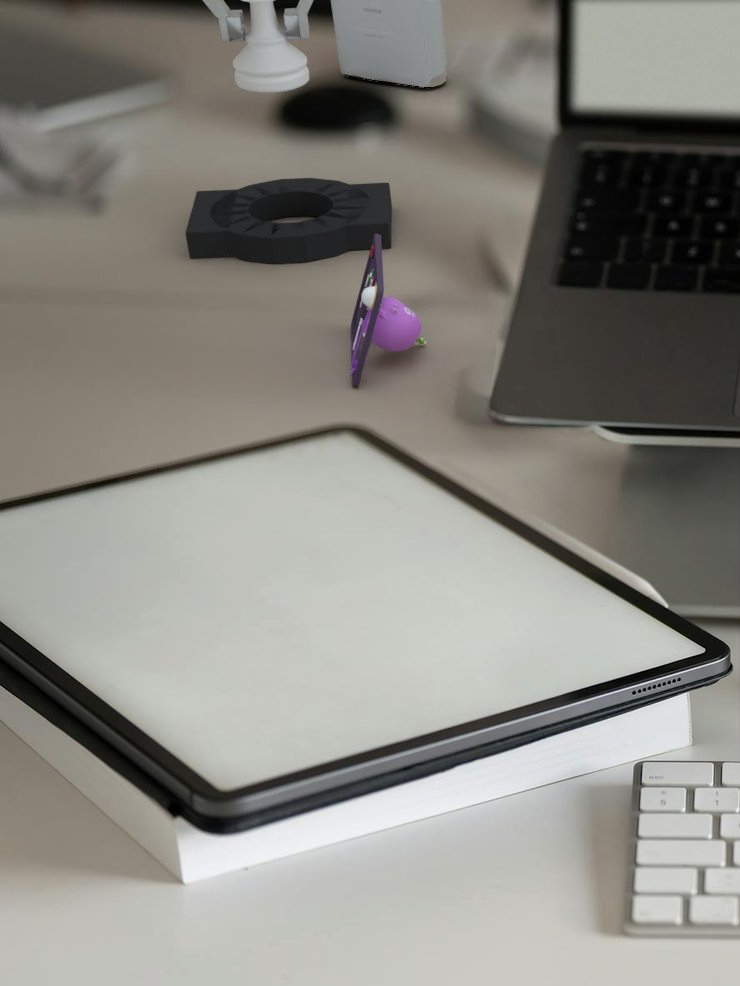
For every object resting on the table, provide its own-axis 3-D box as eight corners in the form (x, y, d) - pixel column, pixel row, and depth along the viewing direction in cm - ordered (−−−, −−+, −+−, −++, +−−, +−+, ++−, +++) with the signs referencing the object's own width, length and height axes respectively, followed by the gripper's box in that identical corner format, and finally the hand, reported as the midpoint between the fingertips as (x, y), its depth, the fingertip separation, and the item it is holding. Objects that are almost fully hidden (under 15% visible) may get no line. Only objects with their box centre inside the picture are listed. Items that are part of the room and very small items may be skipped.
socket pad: (187, 268, 119) (182, 242, 118) (203, 207, 129) (198, 182, 128) (391, 257, 122) (388, 231, 121) (392, 198, 131) (389, 173, 130)
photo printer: (332, 78, 155) (315, -62, 148) (359, 65, 158) (343, -72, 152) (430, 94, 152) (417, -48, 145) (455, 80, 155) (443, -59, 149)
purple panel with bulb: (363, 229, 109) (365, 287, 102) (443, 249, 111) (451, 307, 104) (339, 321, 112) (339, 384, 105) (417, 339, 114) (423, 402, 107)
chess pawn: (324, 81, 119) (307, -50, 114) (264, 98, 116) (243, -36, 111) (281, 66, 122) (262, -63, 117) (221, 82, 119) (199, -50, 114)
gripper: (57, -163, 105) (102, 57, 113) (394, -167, 109) (415, 47, 117) (74, -183, 111) (115, 30, 118) (394, -186, 114) (415, 20, 122)
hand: (267, 38), depth 117 cm, fingers closed on chess pawn, 3 cm apart
